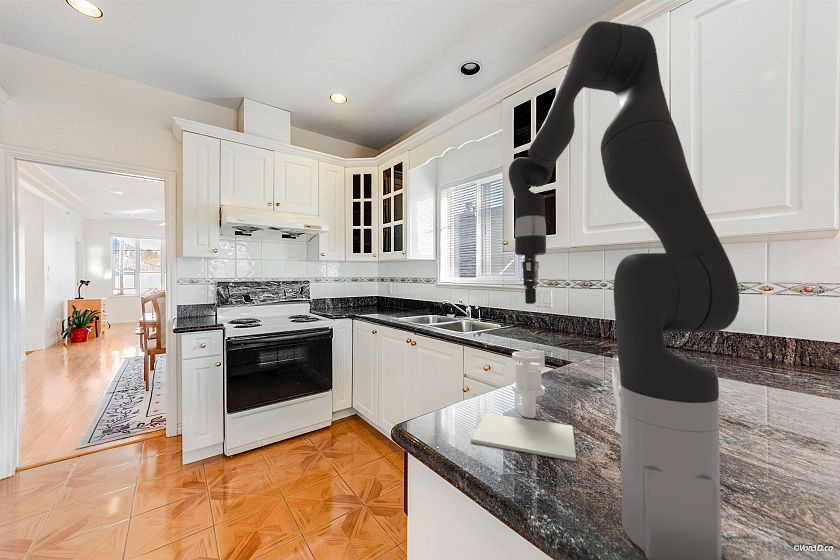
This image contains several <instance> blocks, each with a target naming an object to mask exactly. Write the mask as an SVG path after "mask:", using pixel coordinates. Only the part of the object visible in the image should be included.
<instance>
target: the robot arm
mask: <svg viewBox="0 0 840 560" xmlns="http://www.w3.org/2000/svg"><path fill="white" fill-rule="evenodd" d="M660 74H661V73H660V69H659V61H658V53H657V47H656V43H655V39H654V37H653V35H652V33H651V32H650V31H649V30H647V29H646V28H644V27H642V26H638V25H631V24H624V23H618V22H614V21H606V20H605V21H604V20H603V21H596V22H594V23H592V24H591V25H590V26H589V27H588V28H587V29H586V30H585V32H584V33H583V35H582V37H581V38H580V39H579V41H578V43H577V45H576V47H575V49H574V51H573V53H572V55H571V57H570V60H569V62H568V63H567V67H566V69H565V71H564V74H563V77H562V79H561V81H560V84H559V86H558V89H557V91H556V93H555V97H554V99H553V101H552V104H551V106H550V108H549V111H548V113H547V116H546V118H545V120H544V121H543V123H542V126H541V127H540V128H539V131H538V132H537V133H536V135H535V137H534V139H533V140H532V142H531V144H530V146H529V147H528V157H516V158H514V159H513V160H512V162H511V163H510V165H509V168H508V180H509V184H510V187H511V190H512V194H513V198H514V201H515V227H514V254H515V255H517V256H524V261H521V268H522V279H523V287H524V290H525V292H524V294H525V296H524V297H525V298H524V299H525V301H524V303H525V304H527V305H530V304H531V305H533V304H536V301H537V294H536V293H537V287H538V279H539V269H540V262H539V261H538V260H537V258H536V257H537V256H543V255H545V254H547V226H546V225H547V224H546V218H545V217H546V212H545V211H546V206H545V205H546V202H545V197H544V196H543V195H542V194H539V193H536V192H533V191H531V190H530V189H529V187H530V188H531V187H532V188H536V187H537V188H539V187H544V186H545V185H547V184H548V183H549V182H550V180H551V179H552V177H553V176H552V175H553V171H554V169H555V166H556V163H557V161H558V159H559V157H560V156H561V155H562V154H563V152H564V151H565V150H566V148H567V147H568V146H569V144H570V142H571V141H572V138H573V137H574V133H575V128H576V127H575V126H576V125H575V121H576V120H575V101H576V98H577V97H578V94H579V93H580V92H581V91H582V90H583V89H584V88H585V89H591V90H597V91H599V90H600V91H605V92H611V93H613V94H615V95H616V97H617V99H618V102H619V107H620V109H619V111H617V113H616V114H615V116H614V117H613V118H612V120H611V121H610V122H609V125H608V126H607V128H606V130H605V132H604V133H603V136H602V139H601V143H600V156H601V160H602V167H603V171H604V176H605V180H606V183H607V185H608V187H609V188H610V190H611V192H612V193H613V194H614V196H616V198H617V199H619V201H621V202H622V203H623V204H624V205H625V206H626V207H628V208H629V209H630V210H631V211H633V212H634V214H636V216H638V217H639V218H640V219H642V220H643V221H644V222H645V223H646V224H647V225H648V226H649V227H650V228H651V229H652V230H653V231H654V233H655V234H656V236H657V237H658V239H659V240H660V242H661V245H662V246H663V249H664V251H665V252H651V253H650V252H649V253H648V252H646V253H645V252H644V253H634V254H629V255H627V256H625V257H623V258H622V259H621V261H619V263H618V265H617V267H616V270H615V274H614V279H613V306H614V314H615V331H616V332H615V333H616V352H617V355H618V361H619V367H620V393H621V435H620V463H621V464H620V468H621V469H620V470H621V471H620V472H621V473H620V476H621V483H620V485H621V491H620V492H621V525H622V528H623V531H624V533H625V534H626V536H627V537H628V538H629V540H631V542H633V544H635V545H636V546H637V547H638V548H639V549H640V550H641V551H643V554H644V556H645V558H646V559H647V560H722V559H723V553H722V552H723V551H722V550H723V549H722V544H723V543H722V541H723V540H722V511H721V507H722V505H721V502H722V501H721V464H720V462H721V461H720V460H721V459H720V453H721V452H720V451H721V450H720V408H719V407H720V401H719V399H720V396H719V395H720V392H719V391H720V390H719V389H720V387H719V378H718V375H717V373H716V372H715V371H714V370H713V369H712V368H709V367H707V366H705V365H702V364H699V363H697V362H694V361H690V360H687V359H684V358H682V357H679V356H678V355H676V354H674V353H673V352H671V351H670V350H669V349H668V348H667V345H666V342H665V337H664V332H669V333H670V332H675V333H676V332H677V333H679V332H681V333H711V332H719V331H723V330H725V329H727V328H728V327H730V326H731V325H732V324H733V322H734V321H735V319H736V317H737V316H738V313H739V307H740V290H739V285H738V281H737V277H736V273H735V271H734V268H733V266H732V263H731V261H730V259H729V256H728V255H727V252H726V250H725V249H724V247H723V245H722V242H721V240H720V239H719V237H718V235H717V233H716V231H715V229H714V227H713V225H712V223H711V221H710V219H709V217H708V214H707V213H706V211H705V209H704V206H703V205H702V202H701V199H700V197H699V195H698V191H697V190H696V186H695V185H694V181H693V178H692V176H691V172H690V169H689V167H688V163H687V160H686V156H685V153H684V149H683V146H682V141H681V139H680V136H679V133H678V130H677V128H676V126H675V123H674V120H673V118H672V116H671V113H670V110H669V105H668V102H667V99H666V96H665V95H666V94H665V92H664V88H663V86H662V81H661V75H660Z"/></svg>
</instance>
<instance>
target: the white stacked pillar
mask: <svg viewBox="0 0 840 560" xmlns="http://www.w3.org/2000/svg"><path fill="white" fill-rule="evenodd" d="M545 356H546V355H545V350H539V349H534V348H533V349H530V351H514V352H512V353H511V357H512V360H513V361H516V364H515V382H514V383H512V385H511V386H512V387H511V388H512V392H513V393H515V394H519V395H521V396H520V397H521V414H522V415H521V417H523V416H524V418H526V417H527V418H526V419H534V418H536V417H535V416H537V415H536V402H537V401H536V397H538V396H543V395H545V393H546V392H545V391H546V389H545V386H544V385H542V369H541V368H545V364H546V363H545V361H546V360H545V358H546V357H545ZM519 362H520V363H519Z"/></svg>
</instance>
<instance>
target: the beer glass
mask: <svg viewBox="0 0 840 560" xmlns="http://www.w3.org/2000/svg"><path fill="white" fill-rule="evenodd" d="M611 365H612V368H611V369H612V370H611V382H612V383H611V384H612V391H613V397H614V400H615V406H616V421H615V427H614V431H615V433H616V434H618V435H619V436H621V393H620V367H619V361H618V354H617V355H613V357H612V364H611Z"/></svg>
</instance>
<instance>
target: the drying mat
mask: <svg viewBox="0 0 840 560" xmlns="http://www.w3.org/2000/svg"><path fill="white" fill-rule="evenodd" d="M472 434H473V435H472V436H471V437H470V443H473V444H479V445H483V446H491V447H495V448H499V449H500V448H501V449H506V450H513V451H515V452H516V451H517V452H523V453H527V454H534V455H540V456H544V457H550V458H556V459H561V460H567V461H573V462H577V454H576V446H575V445H576V444H575V436H574V427H573V425H569V424H563V423H558V422H557V423H556V422H550V421H542V420H535V419H531V418H522V417H514V416H507V415H500V414H496V413H495V414H494V413H487V412H486V413H484V415H483V416H482V418H481V421H480V423H479V424H478V426H477V427H476V429H475V430H474V433H472Z"/></svg>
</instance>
